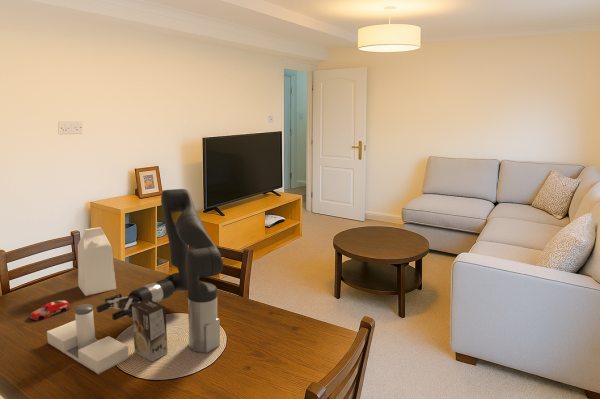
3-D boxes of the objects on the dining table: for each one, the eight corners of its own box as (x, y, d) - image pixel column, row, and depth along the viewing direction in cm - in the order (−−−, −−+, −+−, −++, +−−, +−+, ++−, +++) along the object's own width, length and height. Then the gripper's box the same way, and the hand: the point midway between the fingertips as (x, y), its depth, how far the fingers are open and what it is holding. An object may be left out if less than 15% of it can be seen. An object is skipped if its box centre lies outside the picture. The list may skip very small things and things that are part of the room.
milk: (108, 279, 189) (104, 223, 184) (116, 288, 181) (112, 229, 175) (78, 286, 182) (73, 227, 176) (85, 295, 173) (80, 234, 167)
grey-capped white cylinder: (99, 347, 136) (96, 307, 133) (84, 354, 132) (80, 313, 129) (90, 342, 139) (86, 302, 136) (75, 349, 135) (71, 308, 132)
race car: (34, 323, 151) (33, 313, 150) (28, 318, 154) (26, 308, 154) (72, 310, 161) (71, 300, 161) (65, 305, 165) (64, 296, 164)
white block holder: (128, 358, 132) (127, 346, 131) (98, 374, 124) (97, 361, 123) (77, 330, 147) (76, 319, 146) (47, 343, 139) (46, 331, 138)
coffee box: (168, 353, 136) (167, 306, 132) (151, 362, 131) (149, 314, 127) (150, 343, 141) (148, 298, 137) (133, 352, 135) (130, 305, 132)
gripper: (133, 281, 155) (91, 297, 142) (159, 291, 148) (117, 308, 134) (134, 300, 157) (92, 317, 143) (160, 311, 149) (119, 330, 136)
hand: (104, 313), depth 139 cm, fingers open, 8 cm apart
